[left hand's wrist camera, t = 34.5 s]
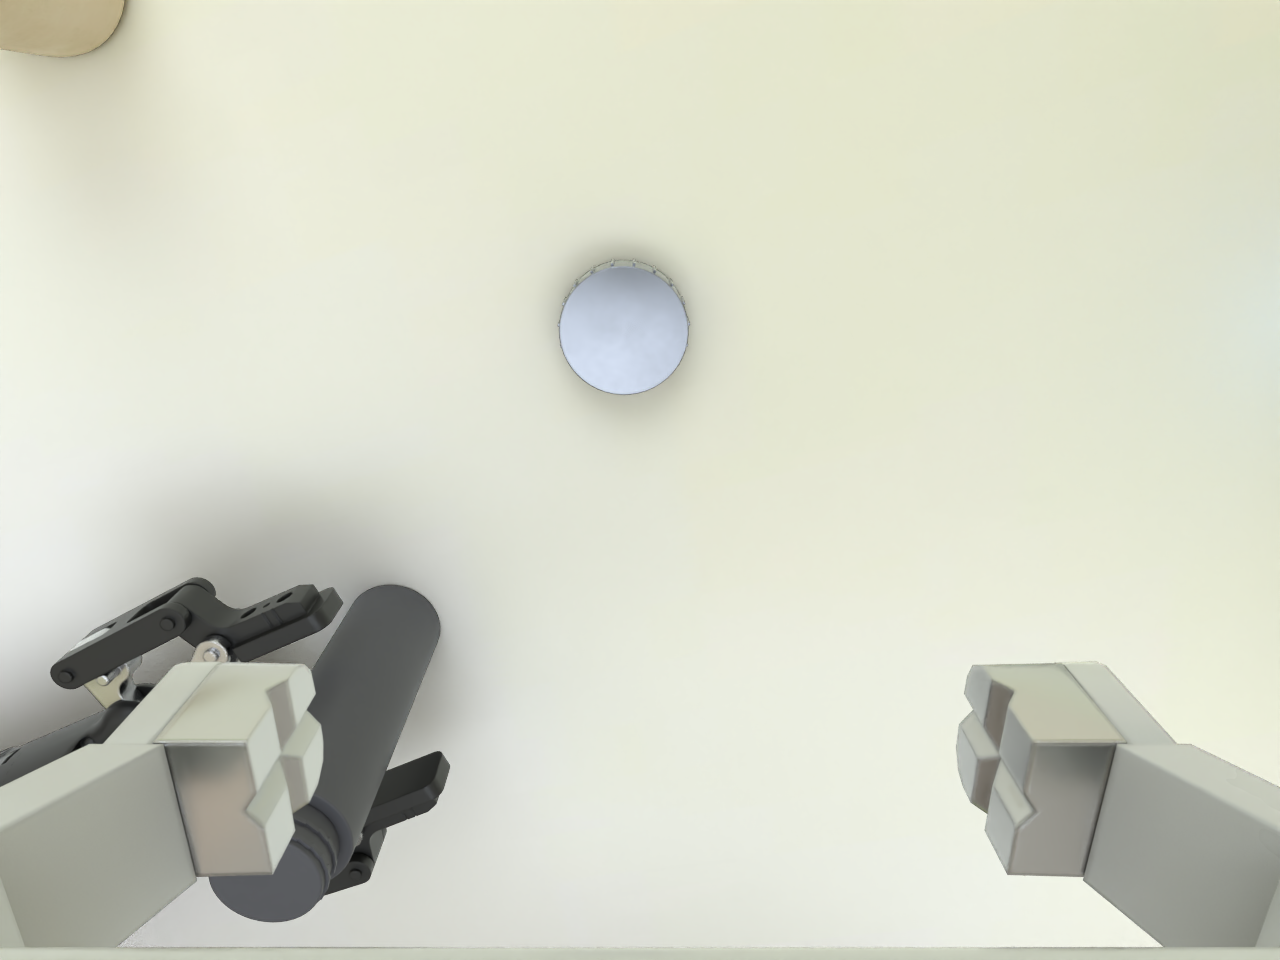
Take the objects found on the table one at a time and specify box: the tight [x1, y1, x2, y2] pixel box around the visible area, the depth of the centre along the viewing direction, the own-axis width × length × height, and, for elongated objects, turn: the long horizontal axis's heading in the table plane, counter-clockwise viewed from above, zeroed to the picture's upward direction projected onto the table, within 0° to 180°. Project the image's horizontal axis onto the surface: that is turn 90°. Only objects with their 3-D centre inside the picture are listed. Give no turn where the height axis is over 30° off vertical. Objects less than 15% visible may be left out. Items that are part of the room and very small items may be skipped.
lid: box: [558, 259, 690, 395], centre depth 34 cm, size 5×5×2 cm
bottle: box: [209, 585, 440, 922], centre depth 33 cm, size 4×4×15 cm
